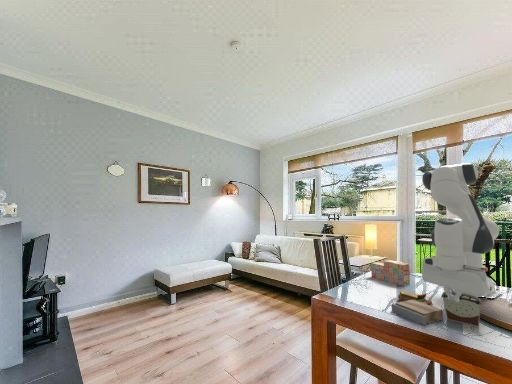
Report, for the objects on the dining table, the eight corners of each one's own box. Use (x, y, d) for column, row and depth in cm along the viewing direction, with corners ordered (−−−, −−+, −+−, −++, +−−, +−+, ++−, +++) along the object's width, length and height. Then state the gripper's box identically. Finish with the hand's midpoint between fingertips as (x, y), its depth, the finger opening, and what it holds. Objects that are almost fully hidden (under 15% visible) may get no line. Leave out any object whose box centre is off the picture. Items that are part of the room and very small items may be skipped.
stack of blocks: (371, 277, 158) (370, 258, 158) (377, 276, 160) (376, 257, 161) (404, 286, 139) (402, 264, 140) (410, 284, 141) (409, 263, 142)
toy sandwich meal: (432, 311, 104) (431, 300, 105) (396, 303, 113) (396, 293, 113) (433, 302, 114) (433, 292, 114) (400, 296, 122) (400, 286, 123)
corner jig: (411, 306, 108) (411, 299, 109) (445, 320, 95) (445, 312, 95) (391, 310, 104) (391, 303, 104) (424, 325, 91) (424, 317, 91)
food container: (483, 322, 93) (481, 295, 94) (484, 328, 89) (482, 300, 89) (443, 313, 101) (442, 289, 102) (442, 318, 97) (440, 292, 98)
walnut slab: (413, 308, 107) (413, 299, 107) (443, 320, 96) (442, 309, 96) (396, 312, 103) (395, 302, 104) (424, 324, 92) (423, 313, 92)
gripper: (490, 267, 82) (494, 309, 81) (428, 257, 101) (430, 290, 100) (479, 269, 79) (483, 313, 78) (418, 258, 98) (420, 293, 97)
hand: (453, 300), depth 89 cm, fingers closed
